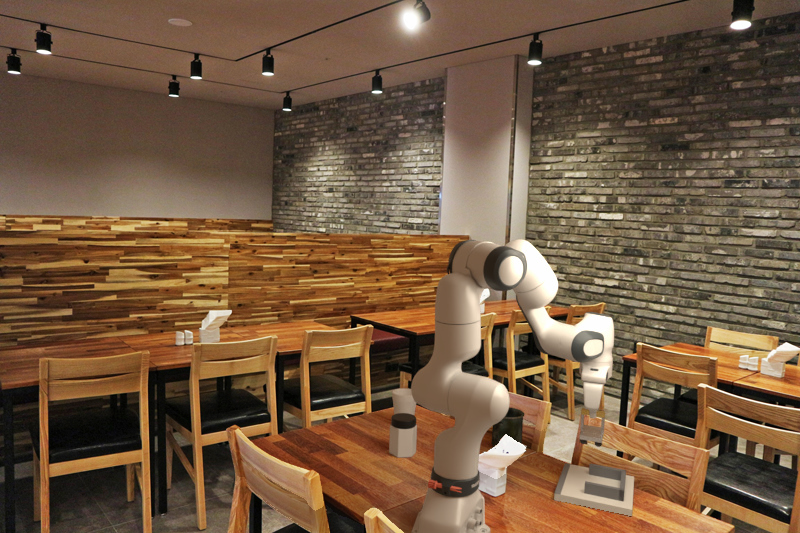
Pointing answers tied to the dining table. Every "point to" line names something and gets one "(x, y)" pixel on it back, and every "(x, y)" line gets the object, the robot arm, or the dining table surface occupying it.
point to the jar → (403, 435)
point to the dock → (596, 488)
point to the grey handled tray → (592, 429)
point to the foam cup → (403, 401)
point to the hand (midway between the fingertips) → (593, 415)
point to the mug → (509, 426)
